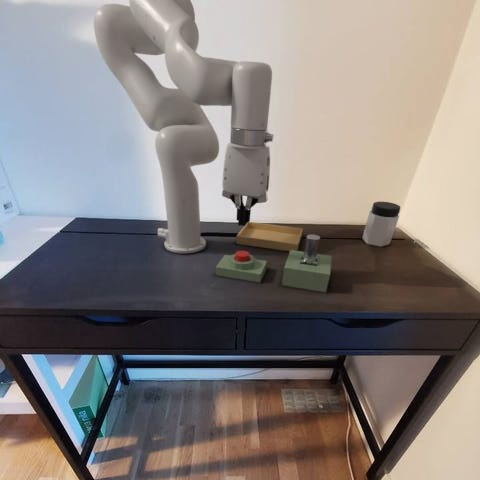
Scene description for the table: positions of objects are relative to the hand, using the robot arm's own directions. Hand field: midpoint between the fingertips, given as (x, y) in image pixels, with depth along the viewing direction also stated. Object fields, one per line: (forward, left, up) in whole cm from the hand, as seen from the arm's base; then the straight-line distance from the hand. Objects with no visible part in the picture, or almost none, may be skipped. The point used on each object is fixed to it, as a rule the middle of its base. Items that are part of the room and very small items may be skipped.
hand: (243, 223), depth 76 cm
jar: (+37, +36, -13) cm, 53 cm away
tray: (+3, +25, -13) cm, 28 cm away
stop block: (0, 0, -13) cm, 13 cm away
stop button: (0, 0, -9) cm, 9 cm away
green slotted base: (+17, +2, -13) cm, 22 cm away
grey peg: (+17, +2, -13) cm, 22 cm away
